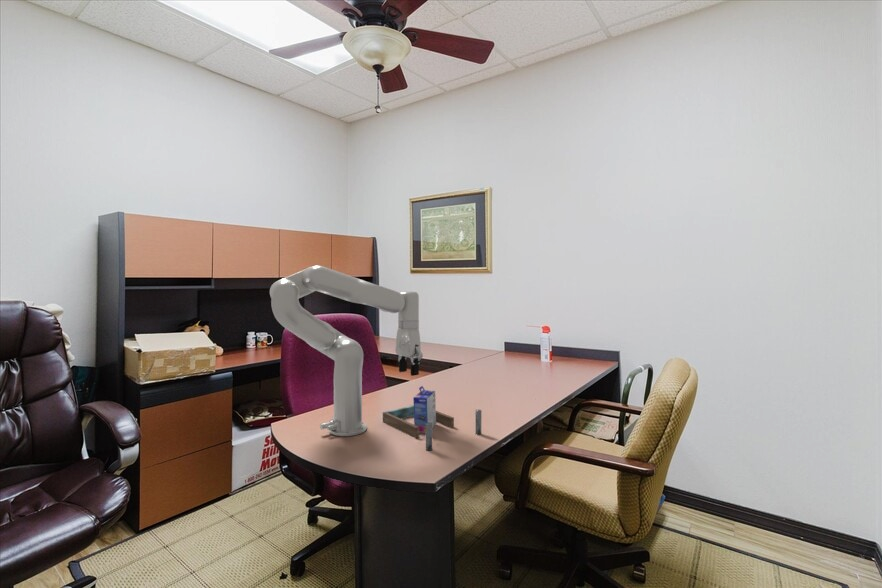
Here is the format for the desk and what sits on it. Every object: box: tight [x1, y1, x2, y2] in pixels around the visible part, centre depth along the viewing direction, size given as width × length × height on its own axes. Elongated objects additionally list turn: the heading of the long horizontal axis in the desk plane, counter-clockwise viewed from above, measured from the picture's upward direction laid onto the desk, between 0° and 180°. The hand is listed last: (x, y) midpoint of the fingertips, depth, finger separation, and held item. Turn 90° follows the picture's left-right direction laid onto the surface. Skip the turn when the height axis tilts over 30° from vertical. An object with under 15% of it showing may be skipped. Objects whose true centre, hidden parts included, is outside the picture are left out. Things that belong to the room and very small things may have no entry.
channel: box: [382, 404, 455, 439], centre depth 151 cm, size 16×21×4 cm
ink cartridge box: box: [413, 385, 437, 434], centre depth 147 cm, size 10×6×14 cm, turn 164°
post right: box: [475, 409, 482, 436], centre depth 141 cm, size 2×2×8 cm
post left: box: [425, 423, 433, 452], centre depth 128 cm, size 2×2×8 cm
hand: (408, 373), depth 154 cm, fingers open, 6 cm apart
